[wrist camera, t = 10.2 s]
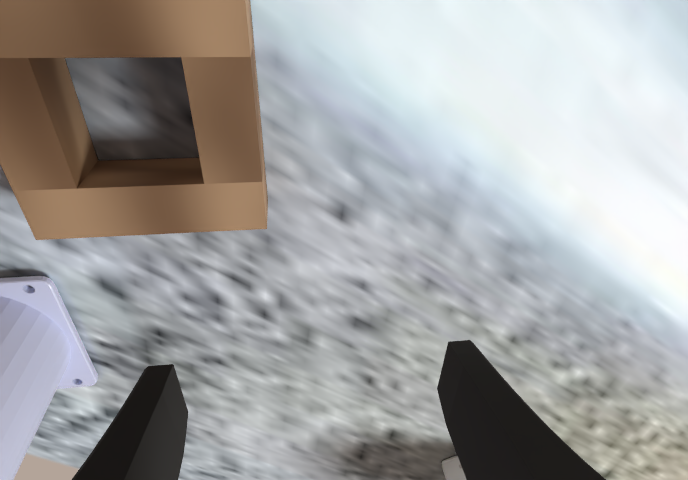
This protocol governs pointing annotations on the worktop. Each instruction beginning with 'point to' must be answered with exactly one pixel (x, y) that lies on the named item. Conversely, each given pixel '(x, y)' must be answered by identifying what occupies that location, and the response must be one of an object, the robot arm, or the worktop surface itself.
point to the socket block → (142, 174)
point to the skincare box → (453, 469)
